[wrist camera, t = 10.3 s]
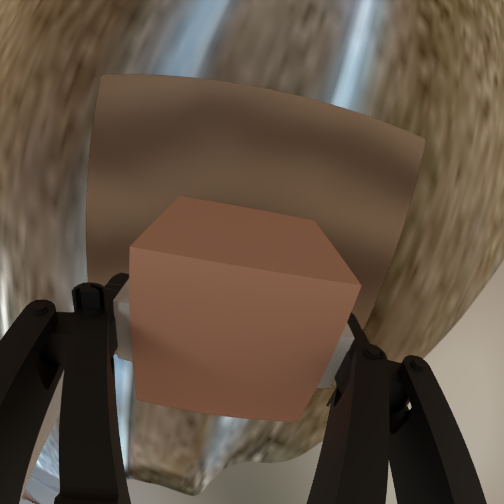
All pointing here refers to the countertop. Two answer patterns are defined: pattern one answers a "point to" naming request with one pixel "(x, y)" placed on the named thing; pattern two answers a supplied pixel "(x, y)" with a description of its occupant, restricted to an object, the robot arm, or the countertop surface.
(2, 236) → the countertop surface
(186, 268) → the terracotta cube
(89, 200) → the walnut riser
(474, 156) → the countertop surface
